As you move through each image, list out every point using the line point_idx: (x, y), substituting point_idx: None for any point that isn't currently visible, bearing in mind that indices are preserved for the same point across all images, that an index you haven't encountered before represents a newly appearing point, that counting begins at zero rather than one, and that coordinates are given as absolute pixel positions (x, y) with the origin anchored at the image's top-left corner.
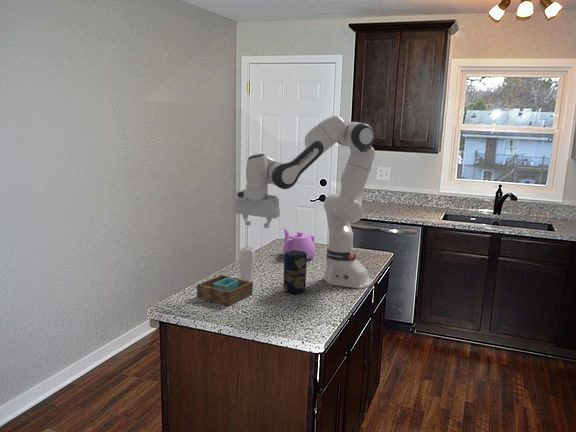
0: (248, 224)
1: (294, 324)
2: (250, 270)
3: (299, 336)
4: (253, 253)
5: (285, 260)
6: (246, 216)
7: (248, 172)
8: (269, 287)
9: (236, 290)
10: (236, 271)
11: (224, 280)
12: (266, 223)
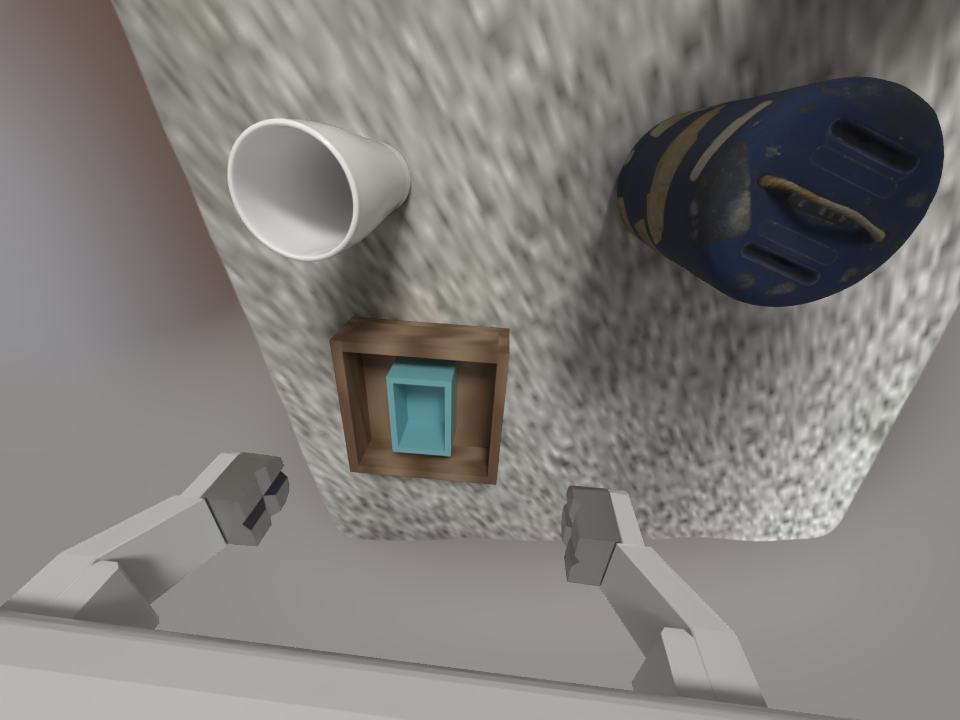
0: (282, 499)
1: (741, 475)
2: (396, 199)
3: (766, 523)
4: (369, 192)
5: (699, 277)
6: (140, 611)
7: None
8: (532, 201)
9: (499, 450)
10: (211, 28)
11: (395, 396)
12: (614, 596)
